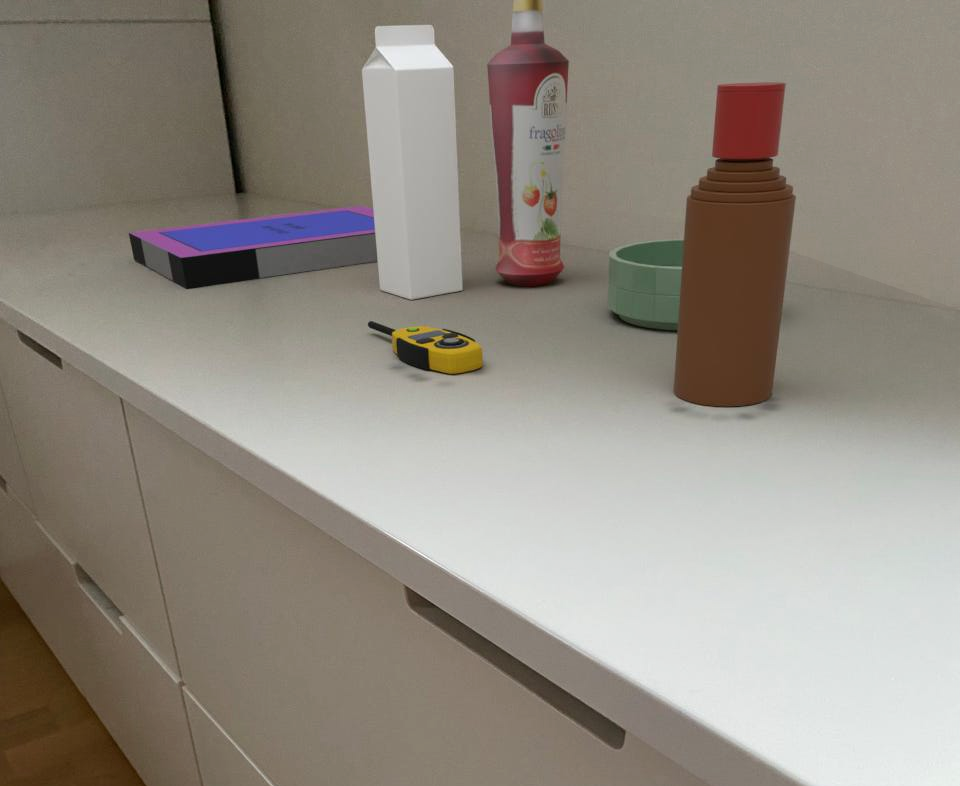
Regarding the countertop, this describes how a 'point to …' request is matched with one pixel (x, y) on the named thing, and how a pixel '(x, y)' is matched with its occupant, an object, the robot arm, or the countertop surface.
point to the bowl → (646, 283)
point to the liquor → (528, 148)
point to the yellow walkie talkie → (434, 348)
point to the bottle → (733, 283)
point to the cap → (748, 120)
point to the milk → (413, 162)
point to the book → (258, 246)
